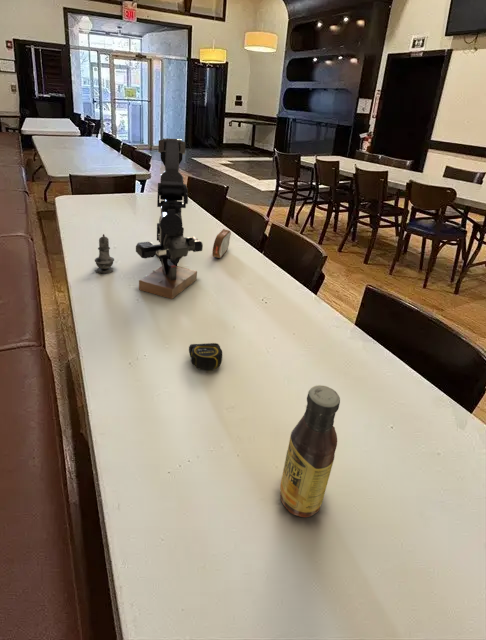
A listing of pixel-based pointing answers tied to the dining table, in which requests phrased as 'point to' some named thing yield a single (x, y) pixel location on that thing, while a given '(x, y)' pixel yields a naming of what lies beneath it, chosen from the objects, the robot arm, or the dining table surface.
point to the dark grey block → (171, 270)
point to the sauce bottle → (310, 454)
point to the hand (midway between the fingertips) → (169, 273)
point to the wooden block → (167, 282)
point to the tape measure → (205, 355)
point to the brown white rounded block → (221, 243)
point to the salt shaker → (104, 257)
